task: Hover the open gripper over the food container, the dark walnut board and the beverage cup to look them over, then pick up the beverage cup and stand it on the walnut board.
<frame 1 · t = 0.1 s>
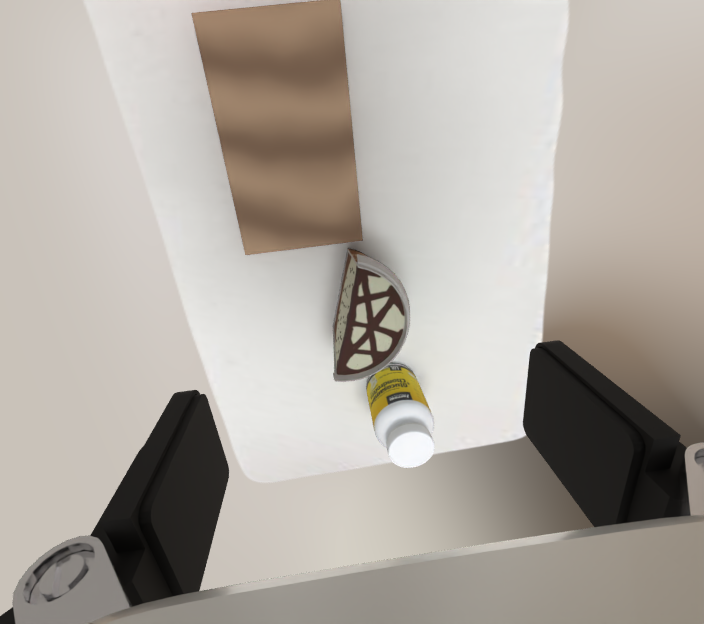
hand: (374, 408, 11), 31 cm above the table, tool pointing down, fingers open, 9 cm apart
walnut board: (288, 141, 36), on the table
food container: (366, 292, 43), on the table
pill bottle: (390, 382, 48), on the table
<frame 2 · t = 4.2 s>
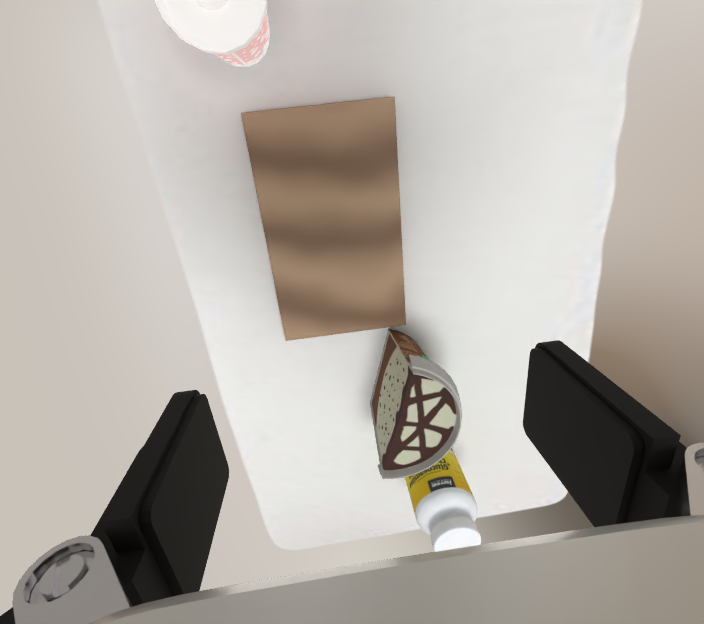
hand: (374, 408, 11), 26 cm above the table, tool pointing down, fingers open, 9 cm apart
walnut board: (333, 229, 35), on the table
beverage cup: (239, 32, 29), on the table
food container: (405, 369, 42), on the table
pill bottle: (425, 453, 47), on the table
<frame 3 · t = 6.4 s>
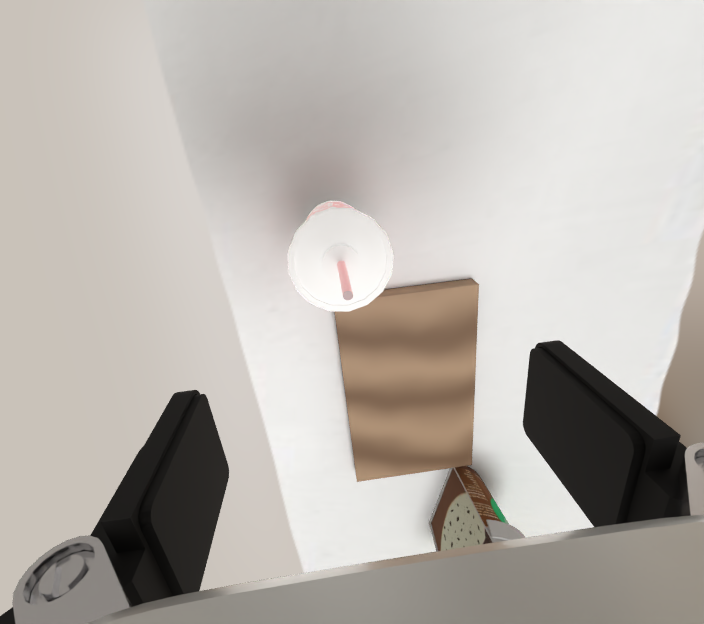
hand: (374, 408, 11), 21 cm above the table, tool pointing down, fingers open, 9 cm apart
walnut board: (407, 384, 36), on the table
beverage cup: (333, 229, 30), on the table
food container: (464, 494, 44), on the table
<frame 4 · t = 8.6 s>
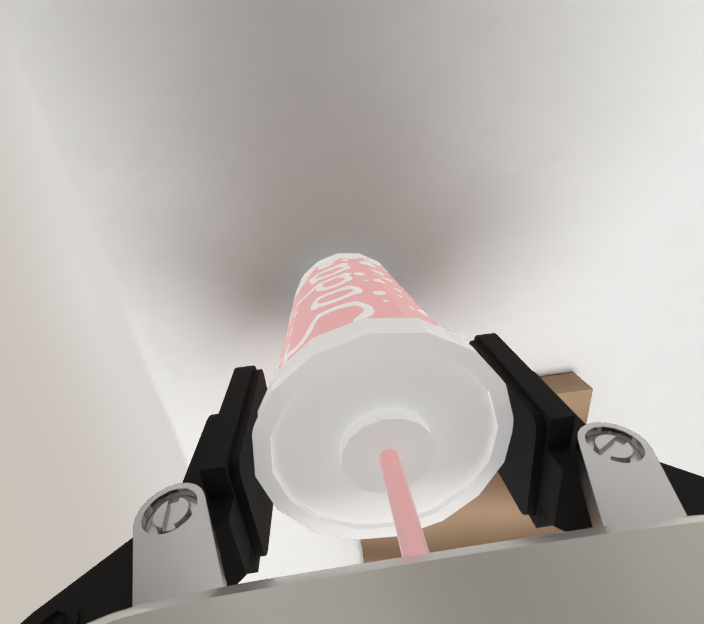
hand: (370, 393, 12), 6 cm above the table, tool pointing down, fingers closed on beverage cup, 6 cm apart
walnut board: (457, 522, 23), on the table
beverage cup: (346, 301, 17), on the table, touching gripper
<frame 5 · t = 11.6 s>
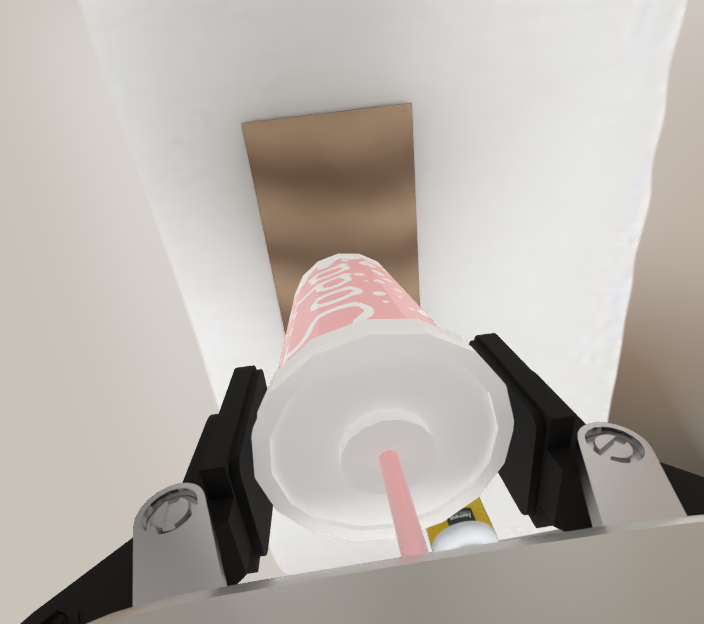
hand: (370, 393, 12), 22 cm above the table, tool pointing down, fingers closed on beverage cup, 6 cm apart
walnut board: (342, 246, 32), on the table
beverage cup: (346, 301, 17), point 16 cm above the table, touching gripper
pill bottle: (440, 477, 45), on the table
when the fingers open (9 cm above the table, at t = 15.0 s): beverage cup drops 1 cm, resting on walnut board.
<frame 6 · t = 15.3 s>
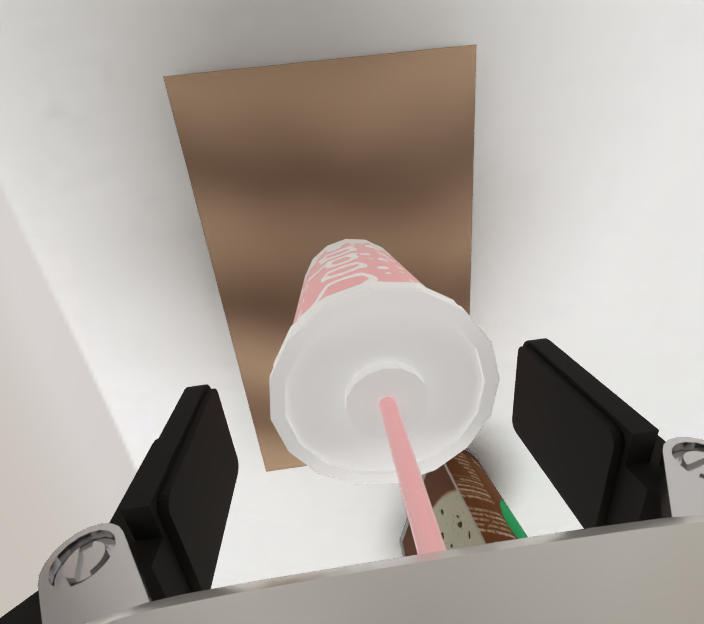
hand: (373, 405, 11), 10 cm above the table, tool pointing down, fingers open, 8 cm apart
walnut board: (347, 291, 20), on the table
beverage cup: (352, 284, 18), point 1 cm above the table, touching walnut board
food container: (456, 493, 27), on the table
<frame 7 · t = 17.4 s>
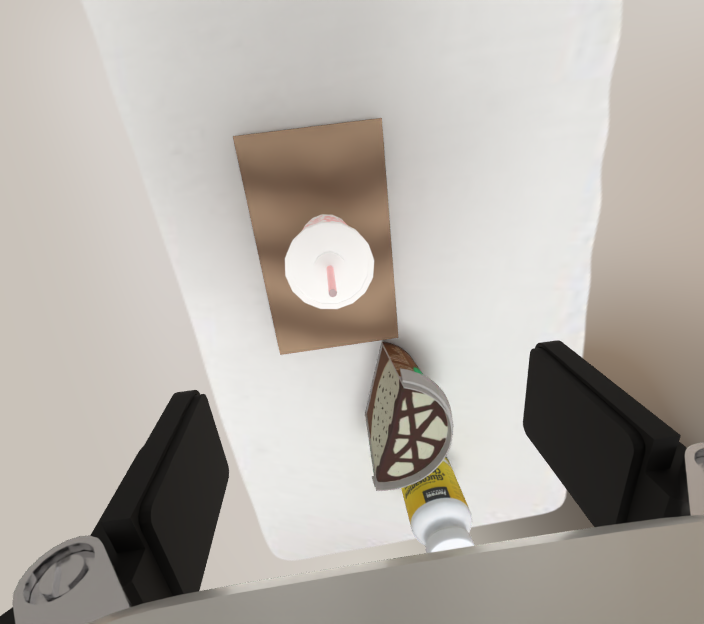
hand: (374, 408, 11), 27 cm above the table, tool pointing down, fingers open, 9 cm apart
walnut board: (325, 245, 36), on the table
beverage cup: (326, 239, 34), point 1 cm above the table, touching walnut board
food container: (399, 380, 43), on the table
pill bottle: (421, 463, 48), on the table
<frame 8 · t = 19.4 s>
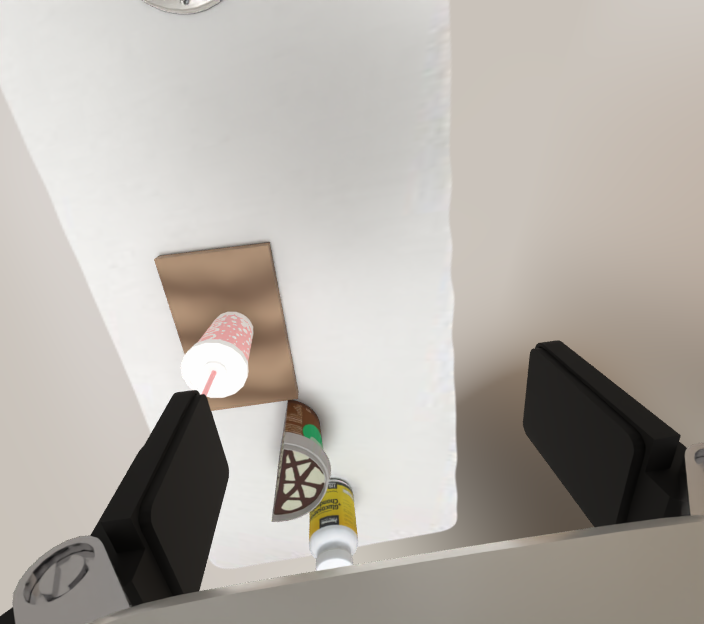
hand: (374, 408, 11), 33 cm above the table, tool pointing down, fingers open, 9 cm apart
walnut board: (235, 330, 46), on the table
beverage cup: (233, 328, 44), point 1 cm above the table, touching walnut board
food container: (306, 428, 53), on the table
pill bottle: (331, 491, 58), on the table
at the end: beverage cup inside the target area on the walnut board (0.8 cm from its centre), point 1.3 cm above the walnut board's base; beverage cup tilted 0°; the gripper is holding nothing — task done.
